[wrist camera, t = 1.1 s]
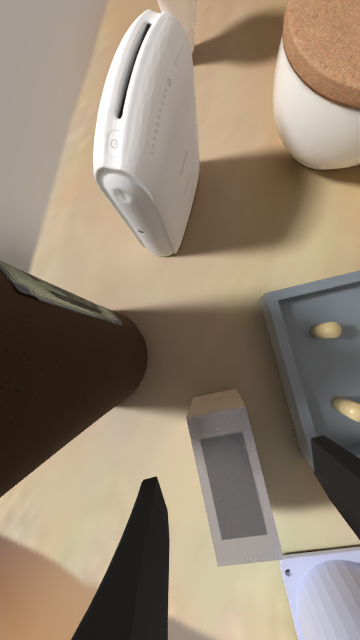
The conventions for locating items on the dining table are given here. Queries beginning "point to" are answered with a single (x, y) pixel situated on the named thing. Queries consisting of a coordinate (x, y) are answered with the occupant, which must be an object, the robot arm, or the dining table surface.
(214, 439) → the block
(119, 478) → the dining table surface
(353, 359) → the tray
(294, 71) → the lidded bowl
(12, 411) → the olive oil
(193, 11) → the lightbulb
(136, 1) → the dining table surface
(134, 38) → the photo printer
